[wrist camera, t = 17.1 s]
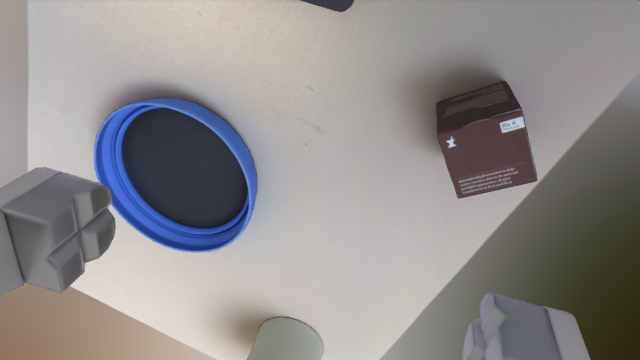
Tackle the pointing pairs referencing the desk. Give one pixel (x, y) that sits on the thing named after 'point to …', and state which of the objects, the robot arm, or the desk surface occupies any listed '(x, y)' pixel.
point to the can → (286, 341)
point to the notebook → (332, 4)
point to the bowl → (177, 173)
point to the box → (485, 141)
